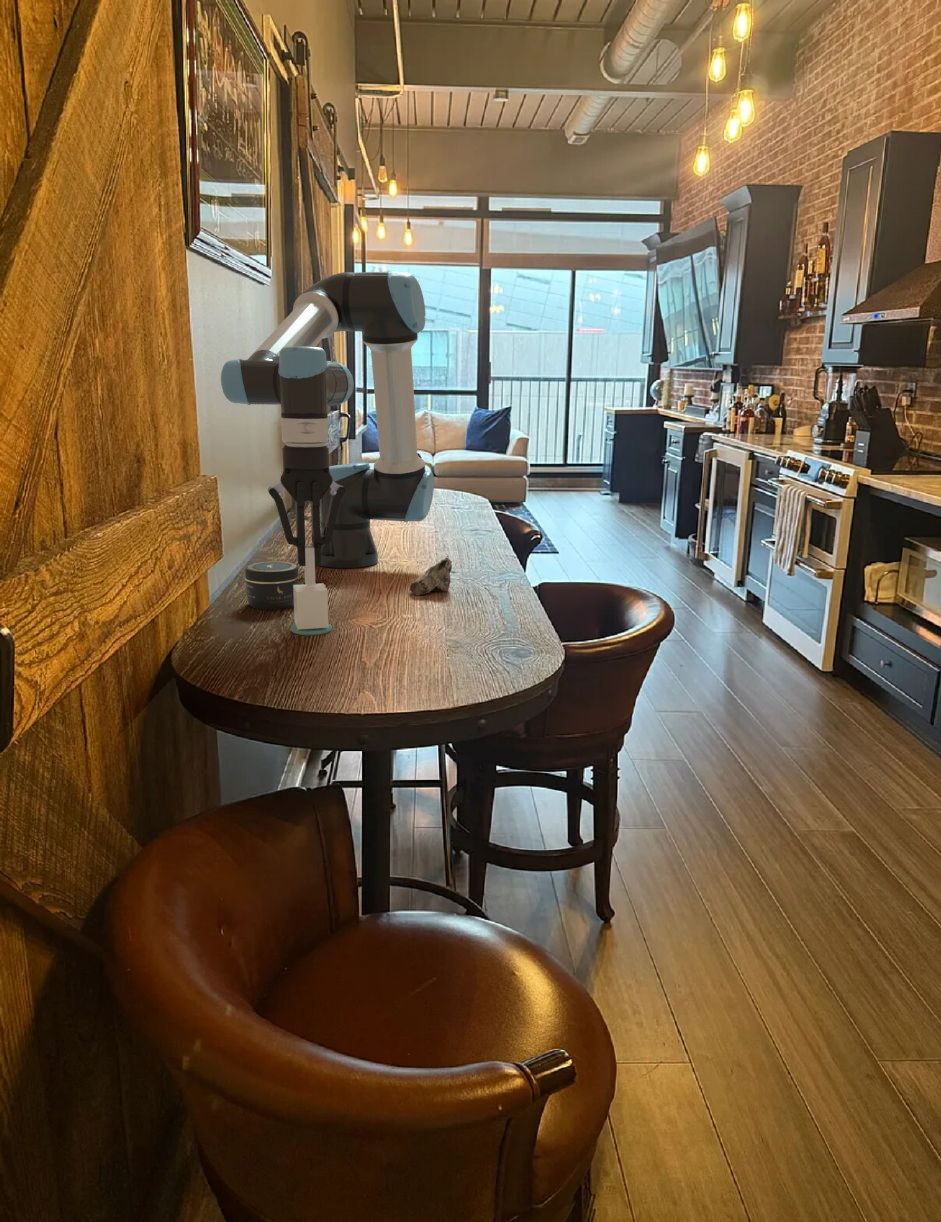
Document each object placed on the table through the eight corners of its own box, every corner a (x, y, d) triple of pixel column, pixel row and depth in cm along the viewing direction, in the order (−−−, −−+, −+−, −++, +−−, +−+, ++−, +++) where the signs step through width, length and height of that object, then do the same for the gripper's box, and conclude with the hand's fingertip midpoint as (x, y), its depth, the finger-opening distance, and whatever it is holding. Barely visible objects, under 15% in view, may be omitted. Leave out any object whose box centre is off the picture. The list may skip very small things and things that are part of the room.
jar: (256, 614, 158) (254, 573, 156) (239, 602, 167) (237, 563, 165) (307, 607, 164) (306, 568, 162) (288, 596, 172) (287, 558, 170)
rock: (443, 594, 169) (464, 557, 174) (411, 577, 170) (432, 541, 175) (435, 614, 177) (455, 578, 182) (404, 598, 177) (425, 563, 182)
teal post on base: (289, 625, 151) (287, 587, 149) (328, 622, 153) (327, 585, 151) (293, 636, 145) (291, 596, 143) (334, 633, 147) (333, 594, 145)
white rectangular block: (294, 621, 150) (293, 584, 149) (324, 619, 152) (323, 583, 150) (297, 629, 146) (296, 591, 144) (328, 627, 147) (327, 590, 145)
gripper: (266, 446, 135) (273, 591, 142) (348, 446, 139) (351, 586, 145) (263, 443, 142) (269, 581, 148) (341, 442, 146) (344, 577, 152)
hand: (310, 583), depth 147 cm, fingers closed
